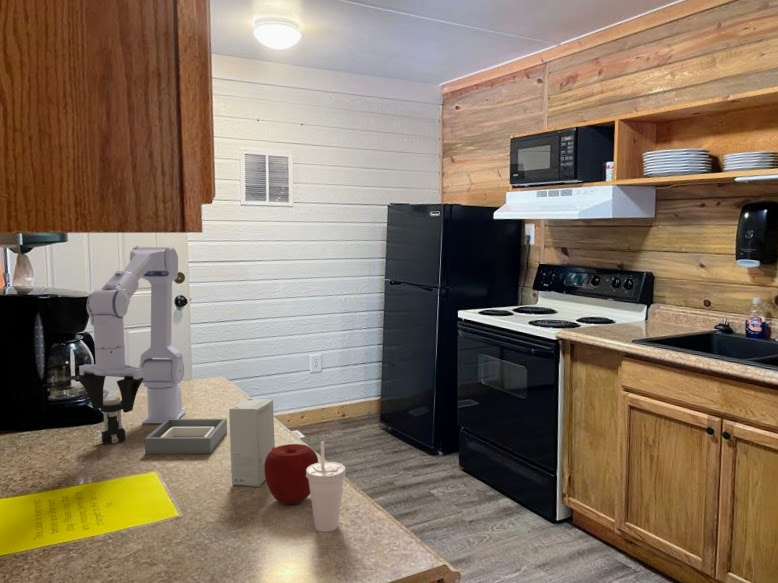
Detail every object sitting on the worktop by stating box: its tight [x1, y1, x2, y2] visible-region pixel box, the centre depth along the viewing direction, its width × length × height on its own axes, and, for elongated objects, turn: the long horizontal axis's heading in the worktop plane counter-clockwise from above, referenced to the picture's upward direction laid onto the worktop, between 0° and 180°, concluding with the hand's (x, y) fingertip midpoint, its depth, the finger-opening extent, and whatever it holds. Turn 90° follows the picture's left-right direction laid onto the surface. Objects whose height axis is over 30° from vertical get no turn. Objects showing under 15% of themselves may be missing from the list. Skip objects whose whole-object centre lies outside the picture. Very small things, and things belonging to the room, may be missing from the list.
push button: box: [93, 396, 127, 445], centre depth 140 cm, size 7×5×10 cm
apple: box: [264, 443, 320, 506], centre depth 110 cm, size 10×10×10 cm
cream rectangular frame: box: [161, 427, 215, 437], centre depth 140 cm, size 8×10×2 cm
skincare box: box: [228, 398, 276, 488], centre depth 119 cm, size 8×6×15 cm
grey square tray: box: [144, 418, 228, 455], centre depth 140 cm, size 14×14×4 cm
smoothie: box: [306, 441, 347, 533], centre depth 100 cm, size 6×6×14 cm
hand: (112, 409), depth 131 cm, fingers open, 7 cm apart
